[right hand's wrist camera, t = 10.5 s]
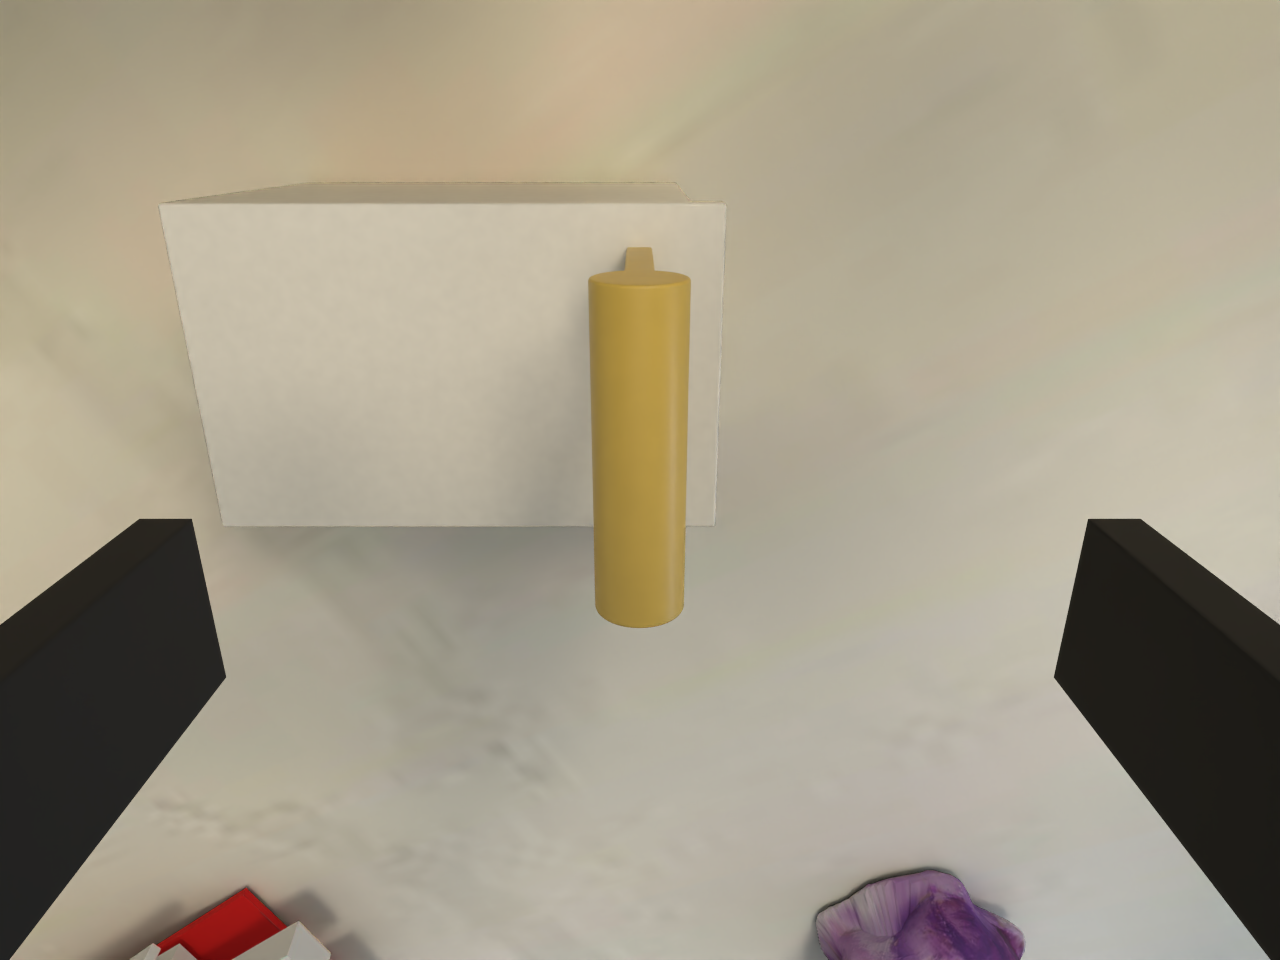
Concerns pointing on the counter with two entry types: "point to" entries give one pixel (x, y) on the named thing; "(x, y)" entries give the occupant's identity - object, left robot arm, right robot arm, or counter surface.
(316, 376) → the lid
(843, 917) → the figurine
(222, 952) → the toy
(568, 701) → the counter surface
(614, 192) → the chest
